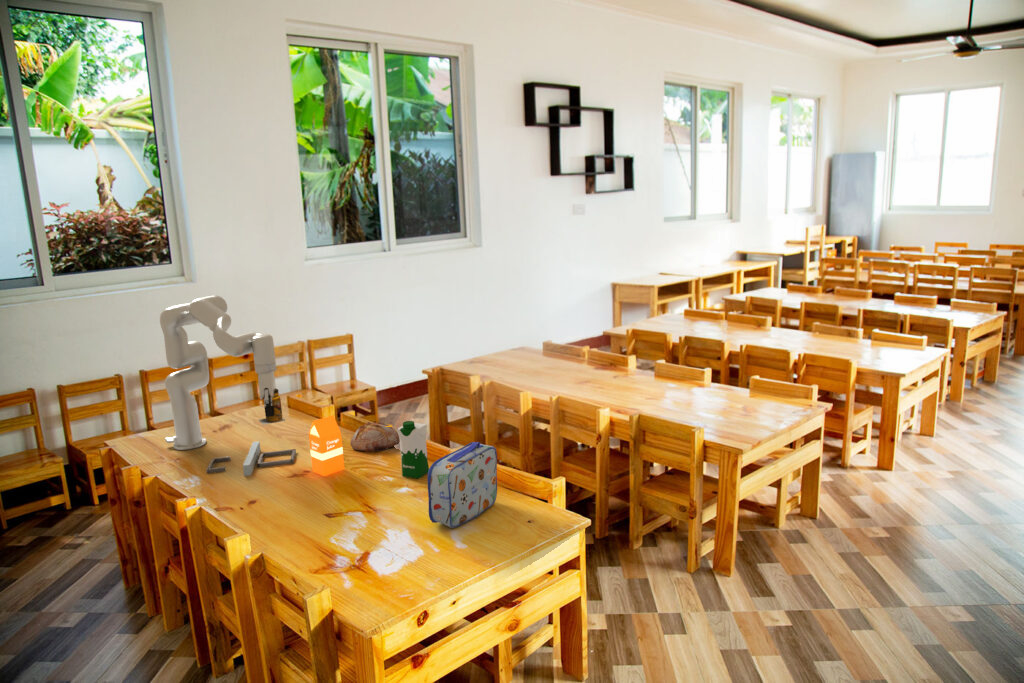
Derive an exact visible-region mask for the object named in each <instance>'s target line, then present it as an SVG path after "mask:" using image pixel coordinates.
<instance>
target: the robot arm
mask: <svg viewBox="0 0 1024 683" xmlns="http://www.w3.org/2000/svg"><path fill="white" fill-rule="evenodd" d="M227 311H228V304H227V301H226V300H225V299H224V298H223V297H221V296H220V295H210V296H202V297H199V298H198V297H197V298H195V299H193V300H192V301H191V302H187V303H182V304H181V303H180V304H177V305H172V306H170V307H166V308H165V309H163V310H162V312H161V313H160V315H159V324H160V328H161V330H162V334H163V339H164V350H165V357H166V358H165V359H166V361H167V366H169V368H171V369H175V370H177V369H181V368H182V369H181V370H177V371H175V372H171V373H170V374H168V375H167V377H165V379H164V385H165V389H166V392H167V395H168V398H169V402H170V406H171V413H172V419H173V425H174V432H175V435H174V436H173V437H171V436H169V437H165V438H164V440H165V443H167V444H171V443H173V445H172V448H173V449H175V450H177V451H185V450H193V449H197V448H200V447H202V446H204V445H206V443H207V438H205V437H202V431H201V423H200V418H199V417H200V416H199V409H198V403H197V401H196V399H195V398H194V397H193V395H192V394H191V392H194V391H197V390H200V389H203V388H205V387H207V385H208V384H209V382H210V370H209V358H208V352H207V350H206V347H205V345H204V344H203V343H202V342H201V341H199V340H191V341H189V340H188V338H189V337H188V333H187V331H186V329H185V328H184V327H185V326H190V325H195V324H200V323H201V324H202V325H203V326H204V327H206V328H207V329H208V330H210V331H212V335H213V336H212V337H213V340H214V343H215V344H216V346H217V347H218V348H219V349H221V350H222V351H223V352H224V353H225V354H227V355H229V356H232V357H237V358H239V357H242V356H245V355H248V354H253V363H254V370H255V374H258V375H257V377H258V378H257V379H258V390H259V392H258V394H259V399H260V400H263V405H264V404H265V406H264V413H265V418H266V417H268V416H274V415H275V413H274V405H273V403H272V398H273V397H274V391H275V388H276V378H275V372H277V371H278V369H277V362H276V353H275V345H274V338H273V336H272V335H271V334H267V333H266V334H265V333H263V334H262V333H259V332H256V331H255V332H254V331H252V332H247V333H243V334H239V335H235V336H232V335H231V334H229V333H228V332H227V331H228V330H229V328H230V326H231V325H232V318H231V315H229V314H228V313H227ZM189 366H190V367H189ZM185 367H186V368H185ZM187 367H188V368H187ZM276 389H277V388H276ZM269 396H271V398H269Z"/></svg>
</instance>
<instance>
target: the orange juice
mask: <svg viewBox="0 0 1024 683" xmlns="http://www.w3.org/2000/svg"><path fill="white" fill-rule="evenodd" d="M341 432H342V430H341V429H340V427H339V425H338V423H337V420H336V418H335V416H334V415H329V416H326V417H323V418H319V419H316V420H313V421H312V423H311V426H310V429H309V432H308V439H309V448H310V449H309V450H310V451H309V453H310V459H311V466H312V467H311V468H312V472H314V473H315V474H317V475H320V476H322V477H327V476H329V475H331V474H335V473H338V472H340V471H343V470H344V469H345V459H344V450H343V449H344V448H343V442H342V441H343V440H342V433H341Z"/></svg>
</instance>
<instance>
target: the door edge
mask: <svg viewBox="0 0 1024 683" xmlns="http://www.w3.org/2000/svg"><path fill="white" fill-rule="evenodd" d="M261 450H262V449H261V443H260V441H259V440H258V441H252V443H251V446H250V448H249V451H248V453H247V456H246V458H245V460H244V462H243V465H242V469H243V470H242V471H243V476H244V477H247V476H252V474H253V472H254V469H255V466H256V465H257V462H258V460H259V457H260V454H261Z"/></svg>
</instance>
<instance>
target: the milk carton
mask: <svg viewBox="0 0 1024 683" xmlns="http://www.w3.org/2000/svg"><path fill="white" fill-rule="evenodd" d="M427 426H428V424H427V423H420V422H418V423H417V422H415V421H413V420H408V421H407V420H406V421H403V422H402V425H401V426H399V427H398V428H397V431H396V432H397V433H398V435H399V439H400V442H399V447H400V460H401V476H403V478H404V477H405V478H409V477H411V478H410V479H415V478H417V479H416V480H419V478H420V479H421V478H423V476H426V475H428V471H429V468H430V466H429V460H428V451H427V450H428V448H427Z"/></svg>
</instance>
